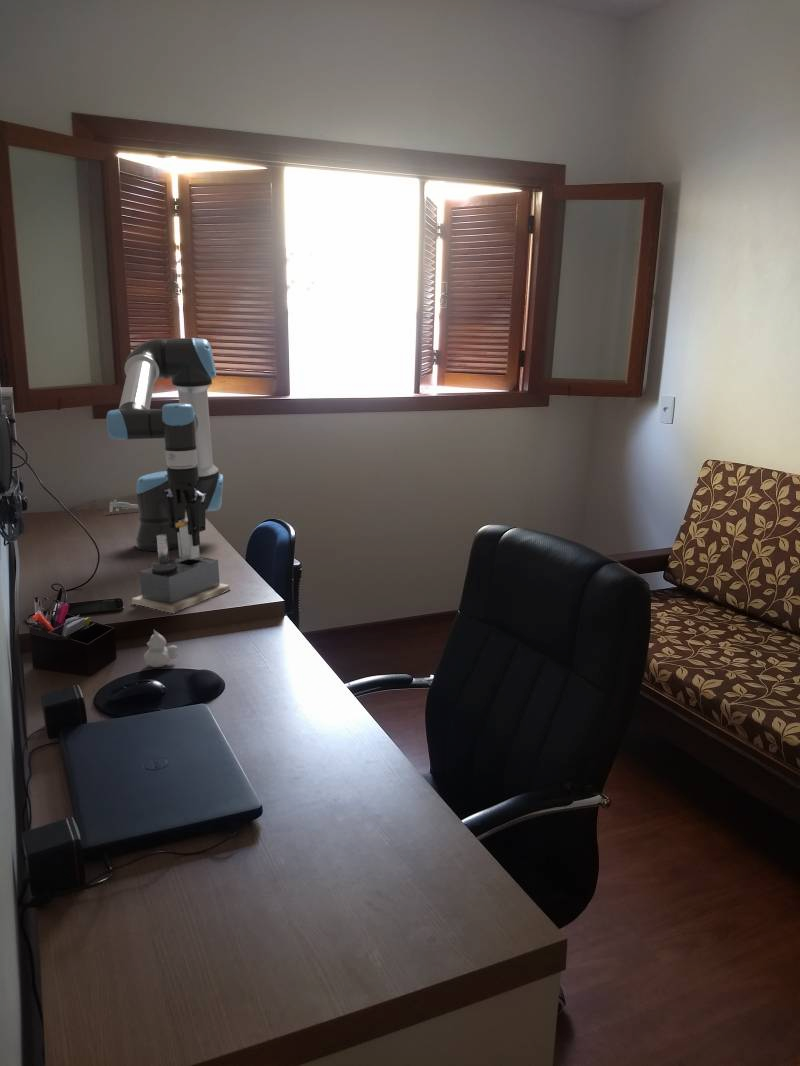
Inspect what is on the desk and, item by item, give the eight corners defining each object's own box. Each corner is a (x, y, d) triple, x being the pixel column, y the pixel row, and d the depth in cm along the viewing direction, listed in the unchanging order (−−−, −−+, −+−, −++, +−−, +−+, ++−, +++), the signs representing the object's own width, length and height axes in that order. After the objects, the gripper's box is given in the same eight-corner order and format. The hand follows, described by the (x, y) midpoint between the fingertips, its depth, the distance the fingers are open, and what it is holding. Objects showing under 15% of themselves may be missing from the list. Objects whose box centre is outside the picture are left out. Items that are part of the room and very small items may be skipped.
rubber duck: (144, 662, 157) (140, 626, 155) (177, 657, 159) (174, 621, 157) (145, 673, 152) (142, 635, 150) (180, 667, 154) (177, 630, 152)
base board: (191, 582, 208) (190, 577, 208) (229, 590, 201) (229, 585, 201) (132, 604, 191) (131, 598, 191) (172, 613, 185) (171, 607, 184)
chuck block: (191, 579, 206) (187, 521, 202) (219, 585, 201) (215, 526, 197) (142, 598, 191) (136, 536, 187) (170, 604, 186) (165, 541, 182)
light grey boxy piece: (196, 553, 201) (192, 516, 198) (204, 554, 199) (201, 517, 197) (176, 560, 195) (172, 522, 192) (184, 561, 194) (181, 523, 191)
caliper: (110, 515, 288) (108, 499, 287) (110, 515, 289) (108, 499, 288) (165, 510, 297) (164, 494, 296) (165, 509, 298) (163, 493, 297)
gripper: (148, 466, 192) (156, 555, 198) (194, 471, 184) (201, 564, 190) (170, 461, 198) (177, 549, 204) (216, 466, 190) (223, 557, 196)
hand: (189, 556), depth 197 cm, fingers closed on light grey boxy piece, 3 cm apart
